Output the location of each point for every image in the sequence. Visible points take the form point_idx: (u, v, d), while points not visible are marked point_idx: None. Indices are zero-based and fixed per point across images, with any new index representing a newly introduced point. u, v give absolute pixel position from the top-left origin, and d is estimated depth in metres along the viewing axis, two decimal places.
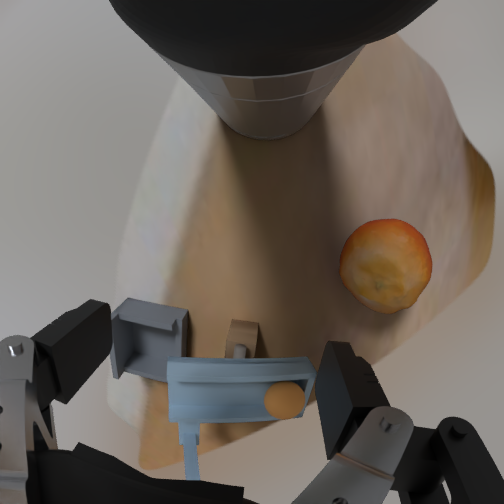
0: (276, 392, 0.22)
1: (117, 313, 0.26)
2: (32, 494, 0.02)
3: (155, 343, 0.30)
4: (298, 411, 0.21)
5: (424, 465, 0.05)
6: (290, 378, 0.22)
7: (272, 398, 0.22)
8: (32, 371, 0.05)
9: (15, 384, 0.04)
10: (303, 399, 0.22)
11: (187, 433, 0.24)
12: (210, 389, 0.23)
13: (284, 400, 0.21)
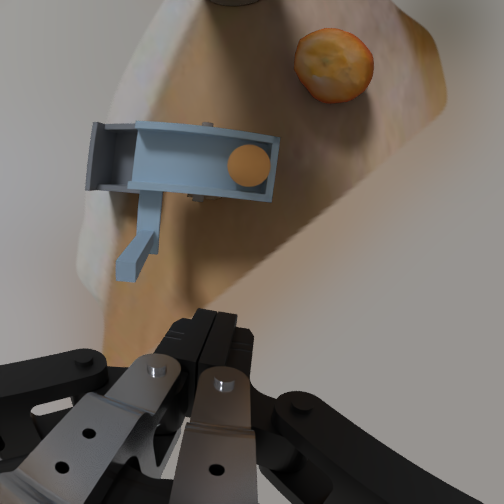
0: (239, 147, 0.23)
1: (103, 124, 0.26)
2: None
3: (132, 168, 0.31)
4: (262, 166, 0.22)
5: (260, 435, 0.06)
6: (253, 137, 0.23)
7: (234, 152, 0.22)
8: (162, 401, 0.05)
9: (127, 414, 0.04)
10: (267, 157, 0.23)
11: (145, 229, 0.25)
12: (175, 159, 0.24)
13: (246, 149, 0.22)
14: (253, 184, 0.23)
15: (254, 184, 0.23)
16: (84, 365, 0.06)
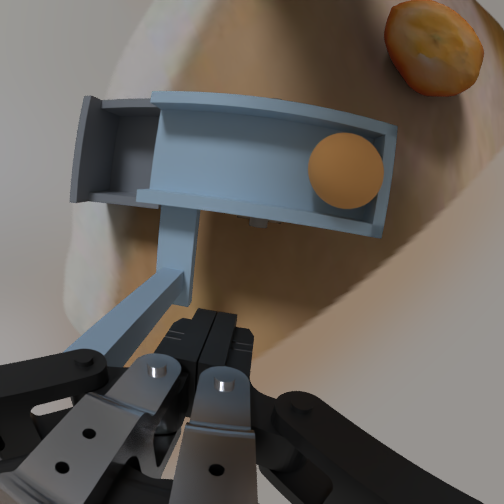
0: (328, 136, 0.12)
1: (100, 100, 0.16)
2: None
3: (141, 168, 0.21)
4: (371, 172, 0.11)
5: (260, 435, 0.06)
6: (353, 122, 0.12)
7: (321, 144, 0.12)
8: (162, 401, 0.05)
9: (127, 414, 0.04)
10: (379, 156, 0.11)
11: (170, 267, 0.16)
12: (219, 154, 0.14)
13: (342, 140, 0.11)
14: (354, 205, 0.12)
15: (355, 205, 0.12)
16: (84, 365, 0.06)
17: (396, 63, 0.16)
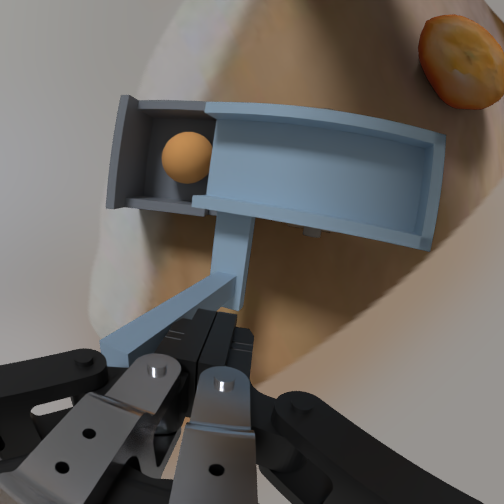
0: None
1: (137, 100, 0.16)
2: None
3: None
4: (189, 155, 0.17)
5: (260, 435, 0.06)
6: (401, 131, 0.11)
7: None
8: (162, 401, 0.05)
9: (127, 414, 0.04)
10: (201, 144, 0.17)
11: (223, 272, 0.17)
12: (273, 164, 0.15)
13: (174, 137, 0.17)
14: (185, 179, 0.18)
15: (187, 179, 0.18)
16: (84, 365, 0.06)
17: (430, 76, 0.16)
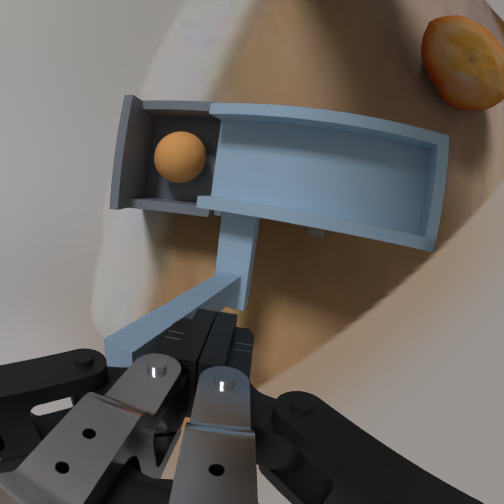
0: None
1: (140, 100, 0.17)
2: None
3: None
4: (167, 154, 0.17)
5: (260, 435, 0.06)
6: (405, 132, 0.11)
7: None
8: (162, 402, 0.05)
9: (127, 414, 0.04)
10: (181, 142, 0.17)
11: (228, 272, 0.17)
12: (278, 164, 0.15)
13: (163, 138, 0.18)
14: (171, 178, 0.18)
15: (172, 178, 0.18)
16: (84, 365, 0.06)
17: (433, 77, 0.16)
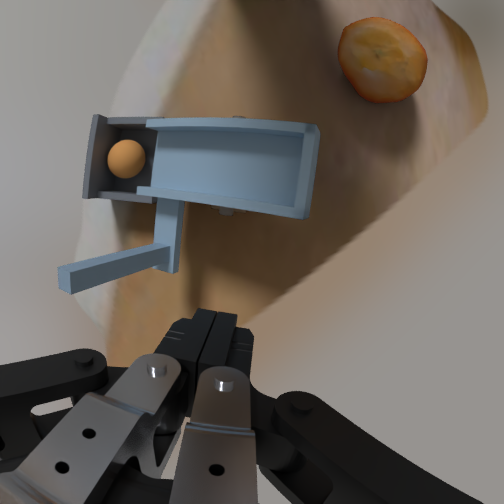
0: None
1: (106, 117, 0.22)
2: None
3: (139, 172, 0.26)
4: (109, 157, 0.22)
5: (260, 435, 0.06)
6: (276, 126, 0.16)
7: None
8: (162, 401, 0.05)
9: (127, 414, 0.04)
10: (116, 148, 0.22)
11: (161, 243, 0.22)
12: (193, 161, 0.20)
13: None
14: (115, 174, 0.23)
15: (115, 174, 0.23)
16: (84, 365, 0.06)
17: (347, 77, 0.21)
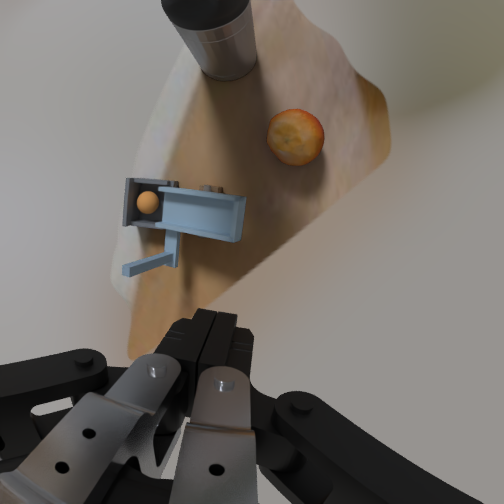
0: None
1: (133, 178, 0.41)
2: None
3: None
4: (138, 202, 0.42)
5: (260, 435, 0.06)
6: (221, 197, 0.36)
7: None
8: (162, 401, 0.05)
9: (127, 414, 0.04)
10: (143, 197, 0.42)
11: (168, 251, 0.42)
12: (184, 209, 0.40)
13: None
14: (142, 212, 0.43)
15: (142, 212, 0.43)
16: (84, 365, 0.06)
17: (272, 151, 0.40)
